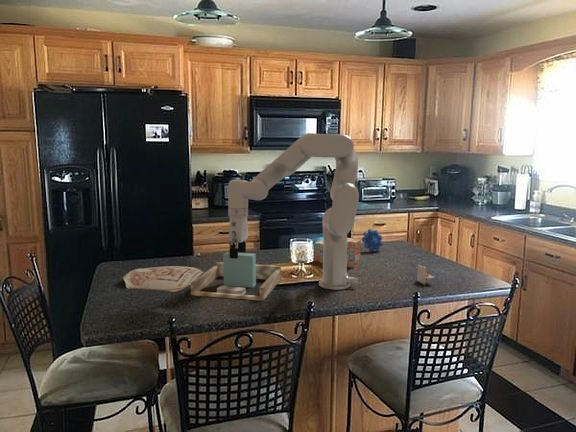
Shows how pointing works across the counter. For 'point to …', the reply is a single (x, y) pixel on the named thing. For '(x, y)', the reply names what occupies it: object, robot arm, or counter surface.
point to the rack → (262, 272)
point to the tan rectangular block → (352, 252)
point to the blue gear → (372, 240)
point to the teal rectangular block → (239, 270)
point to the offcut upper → (231, 290)
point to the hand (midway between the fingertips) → (237, 255)
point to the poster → (162, 278)
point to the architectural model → (423, 274)
